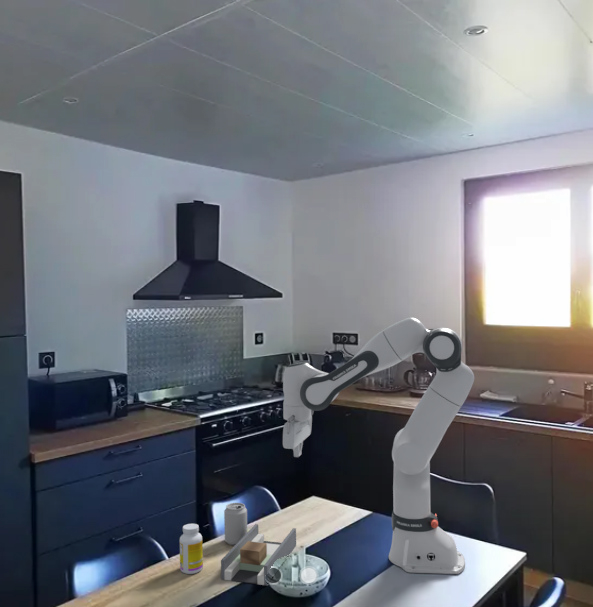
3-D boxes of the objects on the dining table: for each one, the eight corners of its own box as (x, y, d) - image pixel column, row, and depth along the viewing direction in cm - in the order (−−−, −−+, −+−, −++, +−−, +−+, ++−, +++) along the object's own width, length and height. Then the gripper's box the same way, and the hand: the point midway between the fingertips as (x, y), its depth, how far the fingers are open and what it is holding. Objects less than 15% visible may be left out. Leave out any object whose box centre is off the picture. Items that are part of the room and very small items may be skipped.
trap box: (296, 545, 191) (296, 528, 191) (267, 585, 164) (267, 565, 164) (255, 540, 195) (255, 524, 195) (221, 579, 169) (220, 560, 168)
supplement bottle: (207, 567, 176) (206, 524, 176) (194, 576, 170) (193, 532, 170) (188, 563, 179) (188, 520, 179) (175, 572, 173) (174, 528, 173)
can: (246, 546, 191) (245, 509, 190) (223, 546, 191) (222, 509, 191) (248, 536, 198) (248, 501, 198) (226, 537, 198) (225, 501, 198)
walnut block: (266, 556, 177) (266, 543, 177) (259, 565, 171) (259, 551, 171) (248, 554, 179) (247, 541, 179) (240, 562, 173) (240, 549, 173)
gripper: (297, 420, 179) (297, 465, 179) (314, 407, 198) (315, 448, 199) (277, 419, 181) (277, 464, 181) (296, 406, 200) (297, 447, 200)
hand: (297, 455), depth 190 cm, fingers closed
